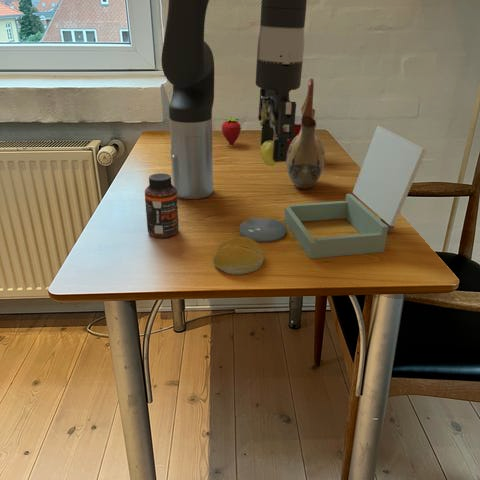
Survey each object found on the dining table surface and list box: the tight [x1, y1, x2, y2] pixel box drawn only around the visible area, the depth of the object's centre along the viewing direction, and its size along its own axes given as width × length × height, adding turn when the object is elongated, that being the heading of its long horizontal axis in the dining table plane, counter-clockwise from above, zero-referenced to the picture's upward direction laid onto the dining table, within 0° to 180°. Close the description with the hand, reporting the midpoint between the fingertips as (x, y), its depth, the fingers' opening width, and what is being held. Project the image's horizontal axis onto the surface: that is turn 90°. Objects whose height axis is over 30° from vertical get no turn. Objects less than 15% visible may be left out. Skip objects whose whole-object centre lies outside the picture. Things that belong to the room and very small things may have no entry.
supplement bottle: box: [144, 172, 180, 239], centre depth 86 cm, size 6×6×11 cm
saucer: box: [239, 217, 287, 243], centre depth 89 cm, size 9×9×1 cm
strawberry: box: [221, 117, 242, 146], centre depth 141 cm, size 6×8×10 cm
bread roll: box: [212, 236, 265, 276], centre depth 78 cm, size 8×9×4 cm
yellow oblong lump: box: [259, 140, 279, 167], centre depth 82 cm, size 4×8×4 cm, turn 174°
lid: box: [351, 125, 427, 227], centre depth 84 cm, size 14×16×1 cm
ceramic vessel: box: [285, 78, 326, 190], centre depth 107 cm, size 16×9×25 cm, turn 173°
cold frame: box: [283, 193, 388, 260], centre depth 87 cm, size 14×16×5 cm
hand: (272, 153), depth 82 cm, fingers closed on yellow oblong lump, 8 cm apart
